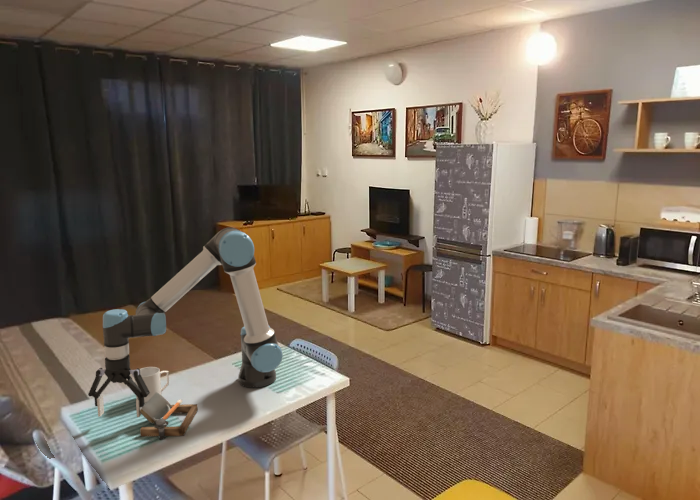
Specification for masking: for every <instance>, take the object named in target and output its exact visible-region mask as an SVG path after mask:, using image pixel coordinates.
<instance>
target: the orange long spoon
mask: <svg viewBox="0 0 700 500" xmlns="http://www.w3.org/2000/svg"><path fill="white" fill-rule="evenodd" d="M182 403H183V399H177V401H176V402H175V404H173V405H174V406H173V407H172V408H171V409H170V410H169V412H168V413H166V414H165V415H164V416H163V417H162V419H159V420H157V421H156V425H157V426H162V425H165V424H166V421H167V419H169V418H170V416H171V414H173V413H172V412H173V411H174V410H175V409H176V408H177V407H178V406H179V405H182Z"/></svg>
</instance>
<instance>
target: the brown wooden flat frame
mask: <svg viewBox="0 0 700 500" xmlns="http://www.w3.org/2000/svg"><path fill="white" fill-rule="evenodd" d="M174 405H175V404H171V406H172V407H173V406H174ZM198 412H199V411H198V404H197V403H196V404H192V403H191V404H189V403H188V404H180V405H179V406H178V407H177V408H176V409H175V410H174V411H173V412H172V414H186V416H185V418H184V419H183V420H182V423H181V424H180V426H177V425H176V426H166V427H164V428H165V437H181V436H182V437H184V436H185V434H186V433H187V430H188V429H189V427H190V425H191V424H192V422H193V420H194V418H195V417H196V415H197V413H198ZM139 434H140V437H159V429H158V428H155V427H154V426H141V428H140V429H139Z"/></svg>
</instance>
